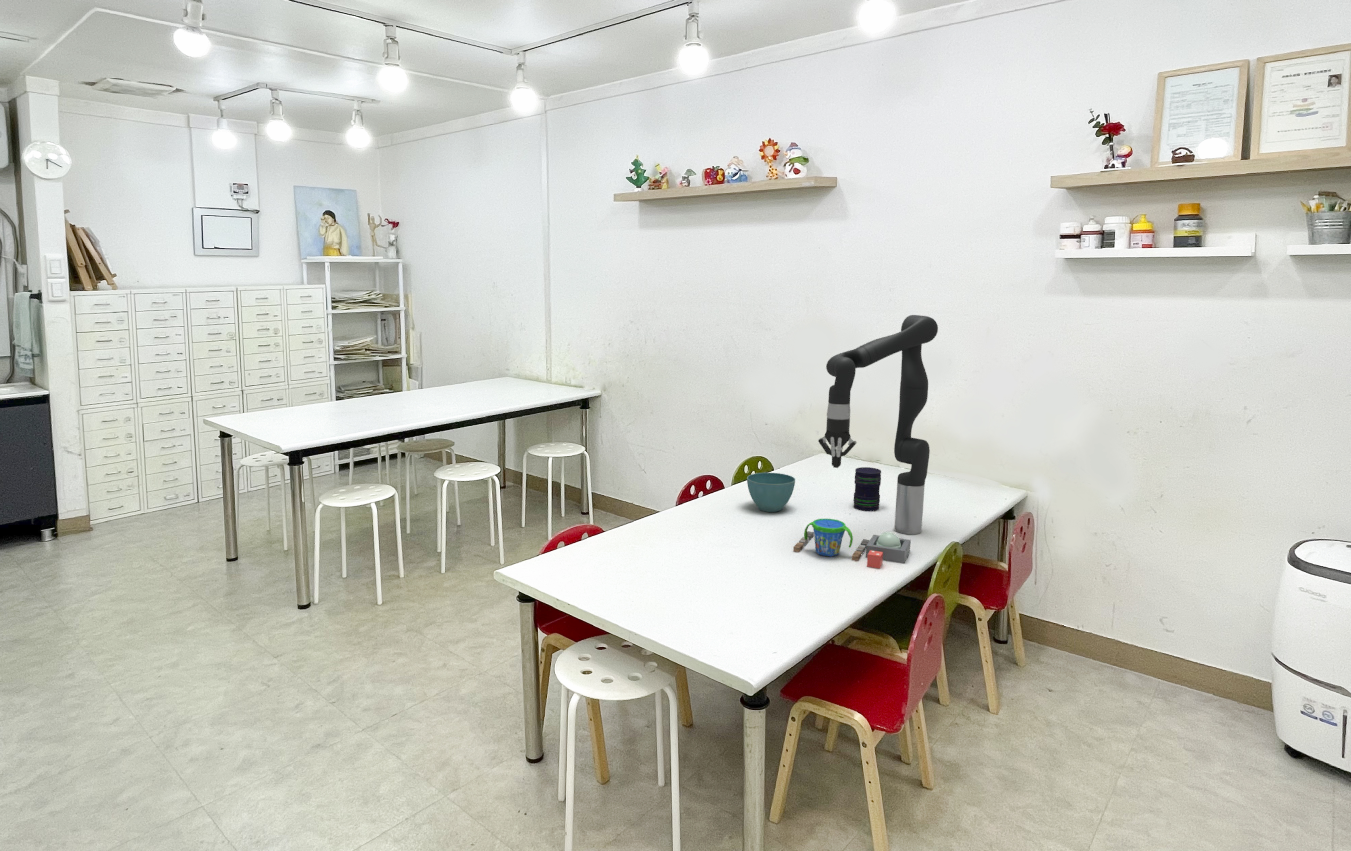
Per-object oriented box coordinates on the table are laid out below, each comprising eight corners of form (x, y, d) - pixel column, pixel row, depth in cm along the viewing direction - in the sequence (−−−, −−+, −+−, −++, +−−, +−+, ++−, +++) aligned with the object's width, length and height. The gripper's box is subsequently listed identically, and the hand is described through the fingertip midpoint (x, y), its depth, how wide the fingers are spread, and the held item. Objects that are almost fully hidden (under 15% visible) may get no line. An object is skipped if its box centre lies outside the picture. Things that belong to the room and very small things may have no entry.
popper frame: (872, 546, 270) (873, 534, 269) (909, 551, 265) (910, 539, 264) (865, 557, 259) (866, 545, 259) (904, 563, 254) (904, 551, 254)
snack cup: (856, 553, 263) (858, 523, 261) (844, 562, 254) (846, 531, 253) (811, 544, 271) (812, 515, 270) (798, 553, 263) (799, 523, 261)
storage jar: (851, 510, 311) (853, 472, 308) (854, 503, 320) (856, 466, 317) (878, 512, 308) (880, 474, 305) (880, 505, 317) (882, 468, 314)
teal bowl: (737, 505, 315) (738, 474, 313) (777, 500, 323) (778, 470, 321) (761, 518, 299) (762, 486, 297) (803, 512, 307) (804, 481, 304)
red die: (869, 562, 255) (870, 549, 254) (882, 564, 253) (883, 551, 253) (866, 566, 251) (867, 553, 251) (880, 568, 250) (880, 555, 249)
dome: (878, 548, 267) (879, 527, 266) (902, 552, 264) (903, 530, 263) (873, 555, 260) (875, 534, 259) (898, 559, 257) (899, 537, 256)
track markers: (807, 535, 280) (808, 531, 280) (869, 544, 272) (869, 539, 272) (793, 551, 264) (793, 546, 264) (857, 561, 256) (858, 556, 256)
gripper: (860, 416, 270) (858, 467, 273) (821, 413, 276) (819, 462, 279) (856, 420, 264) (853, 471, 267) (816, 416, 269) (813, 467, 272)
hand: (836, 467), depth 273 cm, fingers closed
